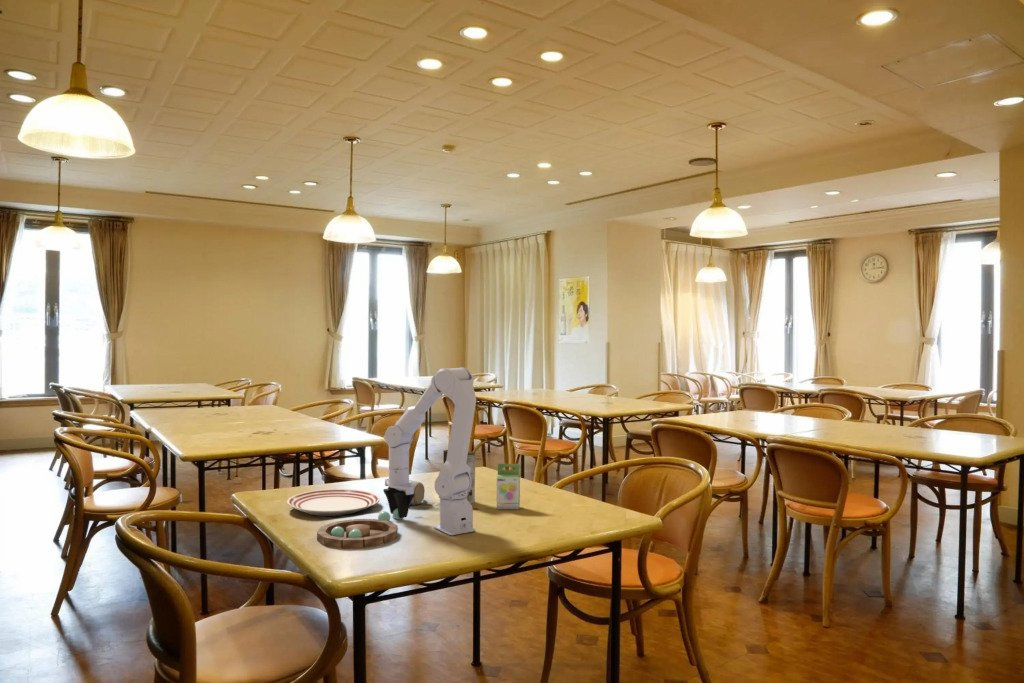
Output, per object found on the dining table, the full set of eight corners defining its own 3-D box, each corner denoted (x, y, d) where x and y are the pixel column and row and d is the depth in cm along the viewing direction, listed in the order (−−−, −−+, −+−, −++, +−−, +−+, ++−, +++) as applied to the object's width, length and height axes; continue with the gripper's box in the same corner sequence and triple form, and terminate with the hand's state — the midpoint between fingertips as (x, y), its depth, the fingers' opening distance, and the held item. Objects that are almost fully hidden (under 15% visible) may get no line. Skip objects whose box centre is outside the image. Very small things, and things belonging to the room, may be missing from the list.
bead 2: (406, 520, 202) (406, 508, 202) (395, 522, 200) (395, 510, 200) (401, 518, 205) (401, 506, 204) (390, 519, 203) (390, 507, 203)
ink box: (496, 509, 215) (496, 465, 215) (497, 506, 219) (497, 463, 219) (519, 510, 215) (519, 466, 215) (519, 506, 219) (520, 463, 218)
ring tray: (410, 541, 181) (410, 530, 181) (335, 555, 169) (335, 543, 169) (377, 524, 197) (377, 513, 197) (307, 535, 186) (307, 524, 186)
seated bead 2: (364, 543, 177) (364, 529, 177) (351, 545, 176) (351, 531, 175) (358, 540, 180) (358, 526, 180) (346, 542, 178) (346, 528, 178)
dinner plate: (397, 503, 223) (397, 493, 223) (341, 524, 198) (341, 513, 198) (327, 495, 234) (327, 485, 234) (267, 514, 209) (267, 502, 209)
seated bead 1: (346, 540, 180) (346, 527, 180) (333, 542, 178) (333, 529, 178) (341, 537, 183) (341, 524, 183) (328, 539, 181) (328, 526, 181)
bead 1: (392, 523, 198) (392, 511, 198) (381, 525, 196) (381, 513, 196) (387, 521, 201) (387, 509, 201) (375, 523, 199) (376, 511, 199)
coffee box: (442, 500, 227) (442, 450, 226) (458, 497, 231) (458, 448, 231) (459, 505, 220) (459, 453, 220) (475, 502, 224) (475, 451, 224)
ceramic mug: (415, 507, 217) (415, 482, 217) (391, 505, 220) (392, 480, 220) (430, 500, 227) (430, 476, 227) (407, 498, 230) (407, 474, 230)
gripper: (423, 470, 198) (423, 518, 199) (400, 462, 210) (400, 508, 210) (400, 473, 194) (400, 522, 194) (378, 465, 206) (378, 511, 206)
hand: (398, 515), depth 202 cm, fingers open, 5 cm apart
